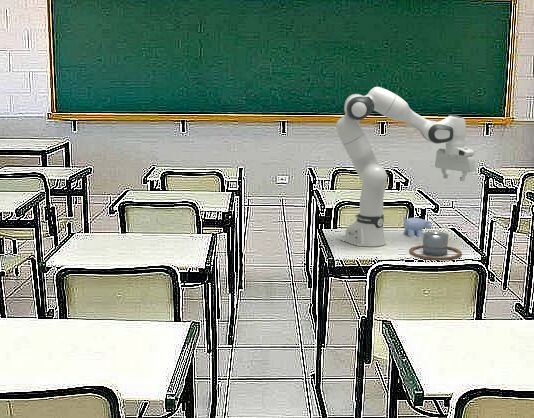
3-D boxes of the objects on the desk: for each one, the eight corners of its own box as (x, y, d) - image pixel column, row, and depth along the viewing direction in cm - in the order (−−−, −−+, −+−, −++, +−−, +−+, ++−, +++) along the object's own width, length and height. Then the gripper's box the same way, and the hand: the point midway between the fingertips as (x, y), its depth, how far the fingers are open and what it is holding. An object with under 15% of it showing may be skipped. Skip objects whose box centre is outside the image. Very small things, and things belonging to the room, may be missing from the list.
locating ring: (399, 252, 346) (399, 250, 346) (430, 244, 361) (430, 242, 361) (440, 263, 329) (440, 260, 329) (471, 254, 344) (471, 251, 343)
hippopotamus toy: (434, 236, 376) (435, 218, 374) (405, 238, 374) (406, 219, 372) (427, 231, 386) (427, 213, 385) (398, 232, 384) (399, 214, 382)
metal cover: (417, 253, 345) (418, 232, 343) (431, 249, 352) (432, 228, 351) (438, 257, 337) (439, 235, 335) (452, 253, 345) (453, 232, 343)
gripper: (432, 148, 359) (431, 177, 361) (469, 152, 343) (468, 183, 346) (440, 147, 363) (439, 176, 365) (477, 151, 347) (476, 181, 350)
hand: (453, 179), depth 356 cm, fingers open, 8 cm apart
